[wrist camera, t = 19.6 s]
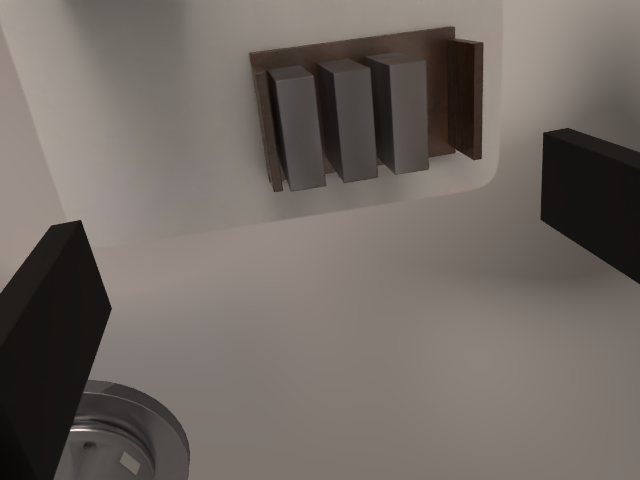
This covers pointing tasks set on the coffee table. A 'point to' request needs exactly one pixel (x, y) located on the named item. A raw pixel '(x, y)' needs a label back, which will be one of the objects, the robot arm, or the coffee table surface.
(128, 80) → the coffee table surface
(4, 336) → the robot arm
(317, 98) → the brown rack
